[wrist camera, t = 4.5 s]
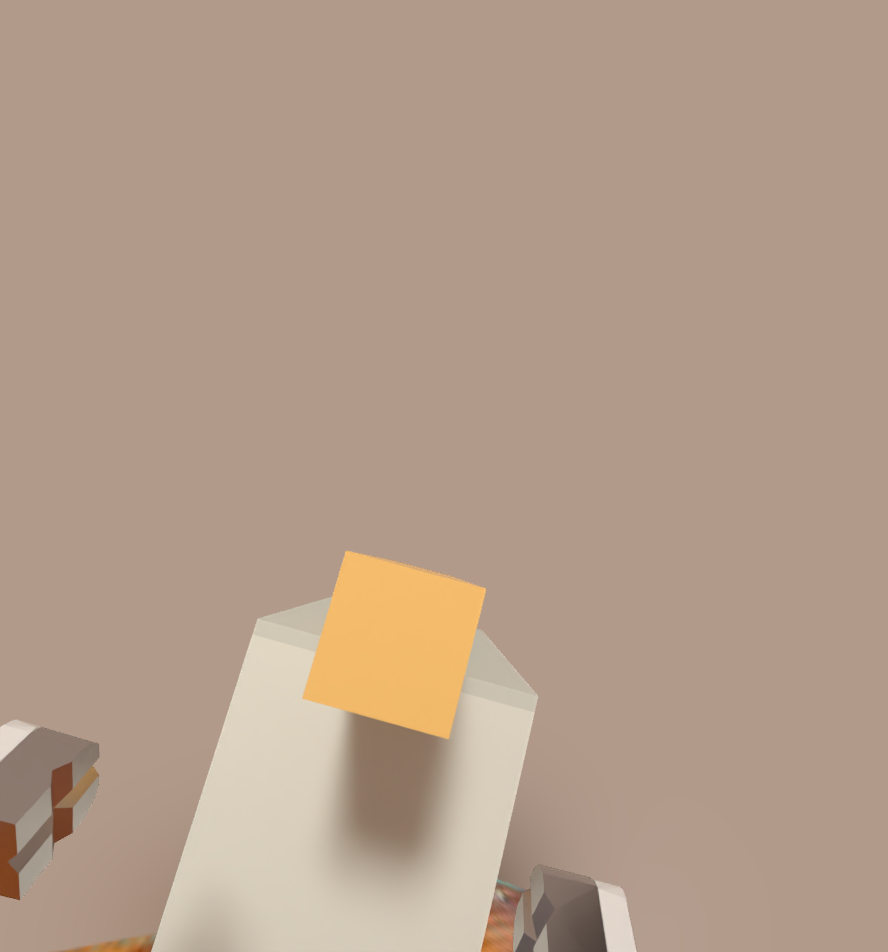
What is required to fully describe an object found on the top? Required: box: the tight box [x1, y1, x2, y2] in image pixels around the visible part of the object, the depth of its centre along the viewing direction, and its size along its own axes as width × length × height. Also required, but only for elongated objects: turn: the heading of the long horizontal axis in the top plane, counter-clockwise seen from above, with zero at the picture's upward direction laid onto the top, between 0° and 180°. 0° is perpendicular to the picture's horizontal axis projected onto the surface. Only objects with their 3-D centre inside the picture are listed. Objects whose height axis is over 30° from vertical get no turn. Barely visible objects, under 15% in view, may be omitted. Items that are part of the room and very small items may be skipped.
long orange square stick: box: [302, 551, 486, 739], centre depth 27 cm, size 30×3×3 cm, turn 1°
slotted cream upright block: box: [151, 597, 538, 952], centre depth 29 cm, size 22×11×27 cm, turn 1°
